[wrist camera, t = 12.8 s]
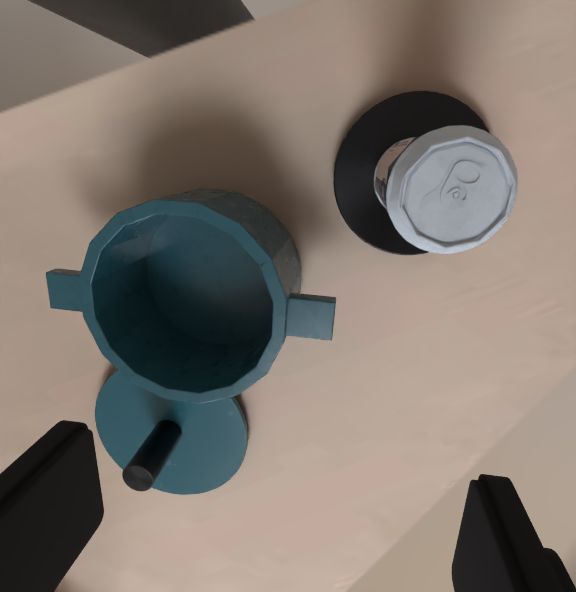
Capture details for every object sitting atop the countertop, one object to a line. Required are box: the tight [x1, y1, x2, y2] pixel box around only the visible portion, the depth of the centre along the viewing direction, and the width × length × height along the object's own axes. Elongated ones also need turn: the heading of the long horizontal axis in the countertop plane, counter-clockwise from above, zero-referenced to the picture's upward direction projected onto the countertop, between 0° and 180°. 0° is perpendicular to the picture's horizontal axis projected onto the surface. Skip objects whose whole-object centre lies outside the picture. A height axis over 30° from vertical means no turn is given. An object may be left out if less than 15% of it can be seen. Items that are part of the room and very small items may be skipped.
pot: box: [46, 189, 336, 404], centre depth 28 cm, size 13×18×8 cm
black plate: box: [334, 91, 490, 255], centre depth 27 cm, size 10×10×1 cm
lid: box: [95, 370, 248, 494], centre depth 33 cm, size 14×14×7 cm
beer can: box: [374, 125, 518, 254], centre depth 20 cm, size 5×5×12 cm
